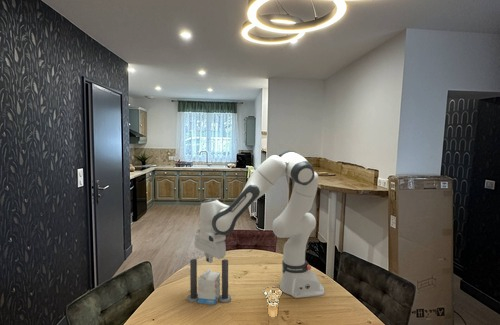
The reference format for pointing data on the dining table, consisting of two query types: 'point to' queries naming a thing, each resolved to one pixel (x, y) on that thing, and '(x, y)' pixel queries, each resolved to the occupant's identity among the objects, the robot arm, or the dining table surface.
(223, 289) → the post
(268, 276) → the dining table surface
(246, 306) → the dining table surface
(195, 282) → the post
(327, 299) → the dining table surface
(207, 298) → the ink box
